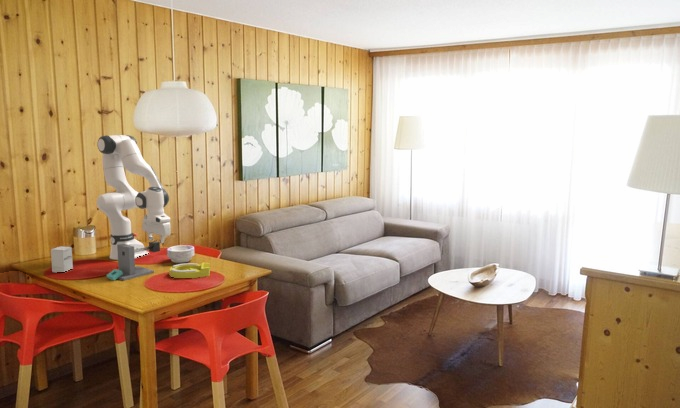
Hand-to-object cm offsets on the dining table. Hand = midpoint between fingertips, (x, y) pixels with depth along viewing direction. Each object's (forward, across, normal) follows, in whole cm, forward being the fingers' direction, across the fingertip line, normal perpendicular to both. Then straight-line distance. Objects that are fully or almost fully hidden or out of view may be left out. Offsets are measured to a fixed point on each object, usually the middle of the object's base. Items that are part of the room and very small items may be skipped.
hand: (156, 241), depth 295 cm
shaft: (+5, +1, -10) cm, 11 cm away
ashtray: (+14, +26, +1) cm, 29 cm away
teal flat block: (+11, +1, -24) cm, 27 cm away
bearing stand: (+14, +1, -17) cm, 22 cm away
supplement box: (+16, -33, -35) cm, 51 cm away
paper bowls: (+15, +1, +16) cm, 22 cm away
